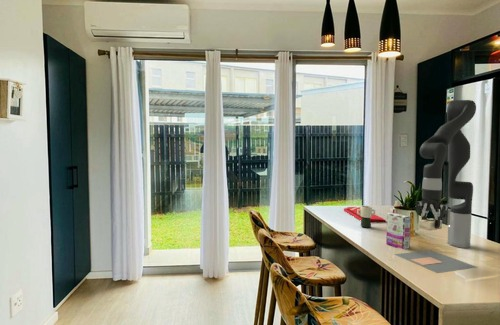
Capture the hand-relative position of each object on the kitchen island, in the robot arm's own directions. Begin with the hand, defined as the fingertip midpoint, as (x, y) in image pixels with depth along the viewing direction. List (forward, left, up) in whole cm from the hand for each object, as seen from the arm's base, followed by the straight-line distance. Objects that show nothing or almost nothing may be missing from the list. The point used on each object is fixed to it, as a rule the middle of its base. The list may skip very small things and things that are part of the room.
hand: (430, 226), depth 147 cm
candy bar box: (-23, +3, -16) cm, 28 cm away
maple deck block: (0, 0, -1) cm, 1 cm away
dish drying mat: (-90, +32, -17) cm, 96 cm away
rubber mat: (0, +2, -16) cm, 16 cm away
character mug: (-62, +13, -16) cm, 65 cm away
